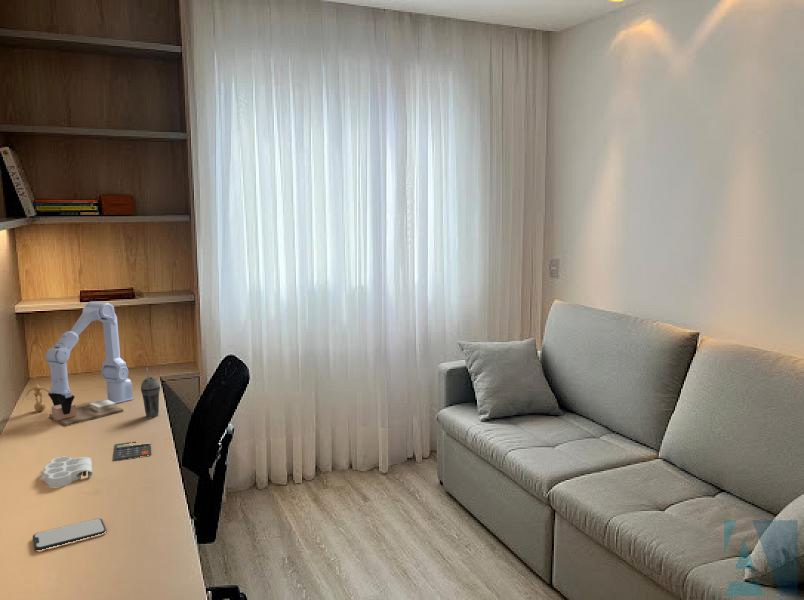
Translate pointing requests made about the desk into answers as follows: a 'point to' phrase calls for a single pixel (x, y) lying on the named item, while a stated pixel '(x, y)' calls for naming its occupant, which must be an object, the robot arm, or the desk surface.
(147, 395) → the beverage cup
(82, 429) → the desk surface
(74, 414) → the tall pink cuboid
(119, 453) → the calculator
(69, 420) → the ticket board
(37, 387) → the figurine
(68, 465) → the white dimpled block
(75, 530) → the phone case
